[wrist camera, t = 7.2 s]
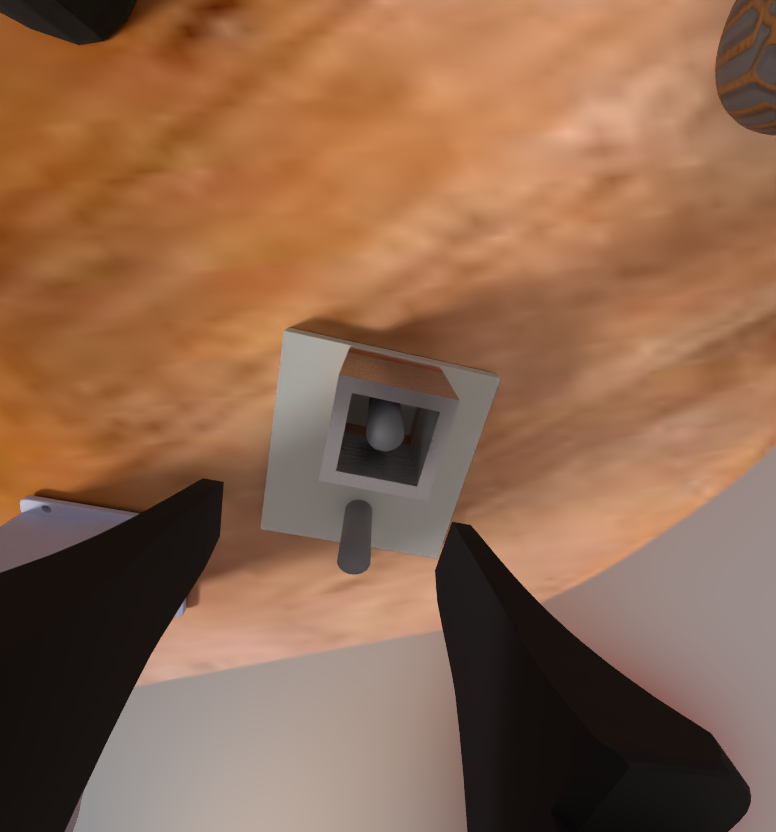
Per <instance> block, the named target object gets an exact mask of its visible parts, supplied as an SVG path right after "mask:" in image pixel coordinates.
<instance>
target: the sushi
mask: <svg viewBox="0 0 776 832" xmlns="http://www.w3.org/2000/svg"><path fill="white" fill-rule="evenodd" d="M135 1H136V0H0V12H1V13H3V14H4V15H6V16H8V17H10V18H12V19H14V20H16V21H17V22H19V23H21V24H23V25H25V26H27V27H29V28H30V29H33V30H36V31H39V32H42V33H45V34H48V35H51V36H54V37H57V38H60V39H63V40H66V41H69V42H72V43H75V44H78V45H81V44H87V43H93V42H99V41H104V40H105V39H107V38H108V37H109V36H110V35H111V34H112V33H113V32H114V31H116V30H117V29H118V28H119V27H120V26H121V25H122V24H124V23H125V22H126V21H127V18H128V16H129V14H130V12H131V10H132V8H133V6H134V4H135Z"/></svg>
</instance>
